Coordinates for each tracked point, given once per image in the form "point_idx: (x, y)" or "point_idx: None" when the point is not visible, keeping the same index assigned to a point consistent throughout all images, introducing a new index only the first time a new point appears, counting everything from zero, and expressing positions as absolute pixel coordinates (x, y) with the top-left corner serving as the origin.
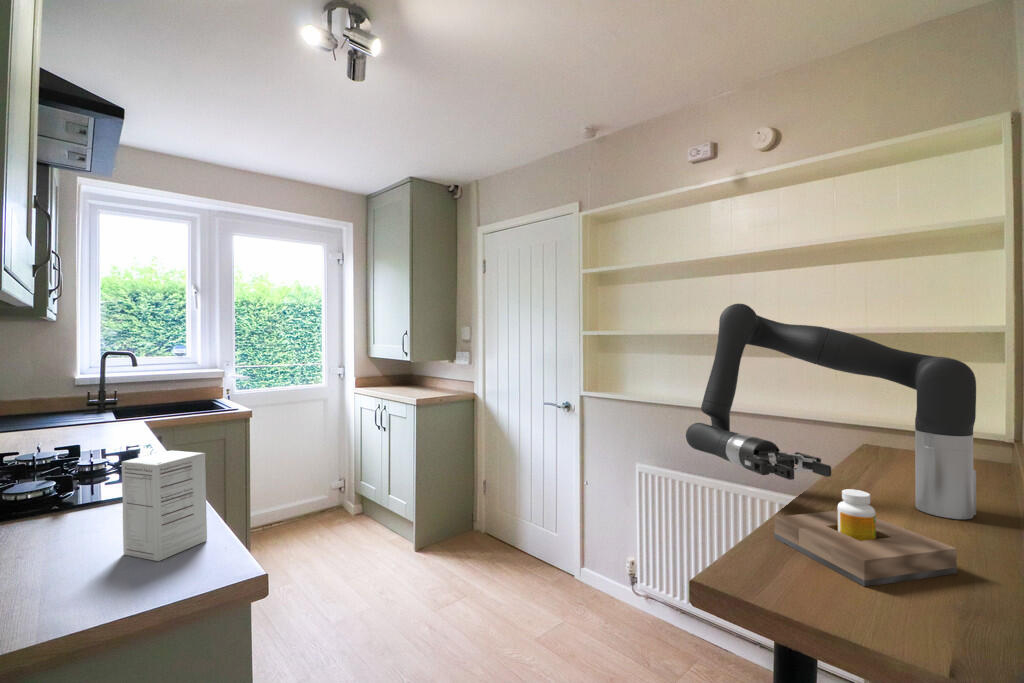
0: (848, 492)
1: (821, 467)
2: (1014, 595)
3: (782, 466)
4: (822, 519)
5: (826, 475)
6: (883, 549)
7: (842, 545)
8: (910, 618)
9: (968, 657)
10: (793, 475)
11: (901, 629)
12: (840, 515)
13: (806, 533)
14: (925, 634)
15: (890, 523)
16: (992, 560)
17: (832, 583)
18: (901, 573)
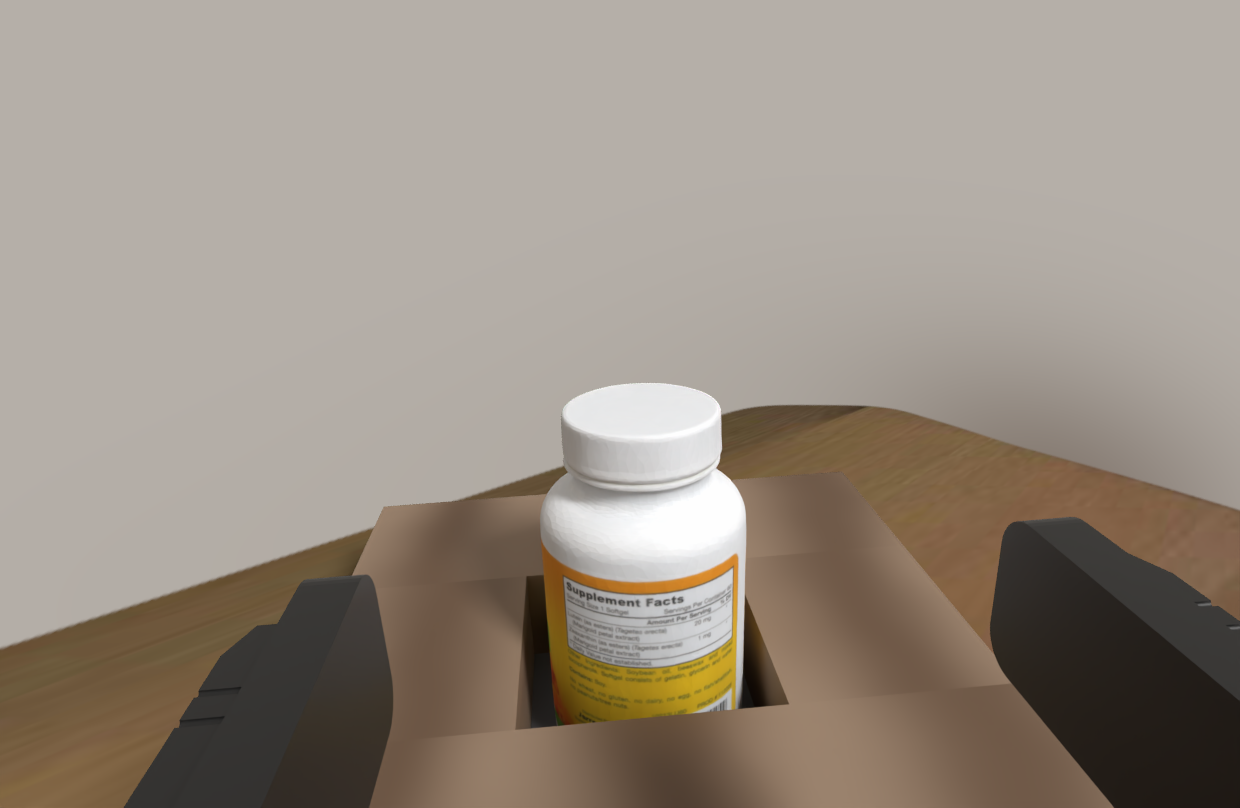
0: (687, 409)
1: (348, 692)
2: None
3: (1193, 610)
4: (731, 801)
5: (389, 711)
6: None
7: (852, 537)
8: None
9: (795, 420)
10: (1007, 592)
11: (868, 458)
12: (745, 553)
13: (981, 645)
14: (824, 449)
15: None
16: (91, 653)
17: (946, 578)
18: None
